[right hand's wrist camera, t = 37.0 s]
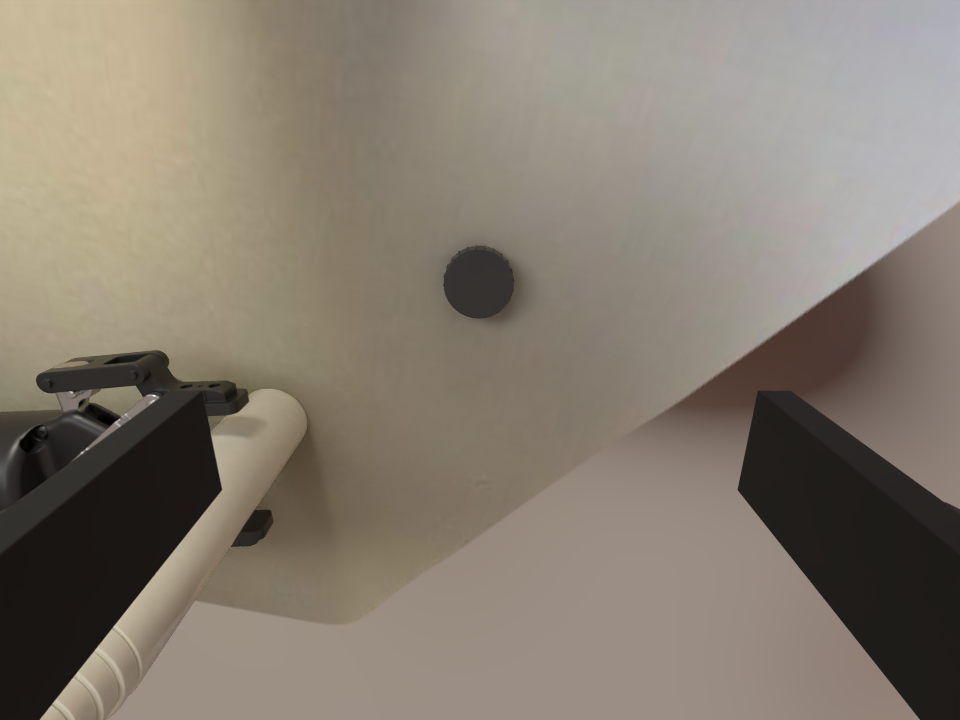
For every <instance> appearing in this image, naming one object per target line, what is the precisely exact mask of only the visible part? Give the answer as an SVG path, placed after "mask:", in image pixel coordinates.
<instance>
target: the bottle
mask: <svg viewBox="0 0 960 720" xmlns="http://www.w3.org/2000/svg"><path fill="white" fill-rule="evenodd" d="M248 397H249V402H248V403H247V404H246V405H245V406H244V407H243V408H242V409H241V410H240V411H239V412H238V413H236V414H232V415H226V416H225V417H224V418H223V419H222V420H221V421H220V422H219V423H218V424H217V425H216V426H215V427H214V428H213V429H212V430H211V431H210V432H211V437H212V442H213V447H214V452H215V456H216V461H217V466H218V471H219V476H220V481H221V486H222V491H221V492H220V493H219V495H218V496H217V497H216V498H215V500H214V501H213V502H212V504H211V505H210V506H209V507H208V509H207V510H206V511H205V512H204V514H203V515H202V516H201V517H200V519H199V520H198V521H197V522H196V524H195V525H194V526H193V527H192V529H191V530H190V531H189V533H188V534H187V535H186V536H185V538H184V539H183V540H182V541H181V543H180V544H179V545H178V546H177V548H176V549H175V550H174V551H173V553H172V554H171V555H170V556H169V558H168V559H167V560H166V561H165V563H164V564H163V565H162V567H161V568H160V569H159V570H158V572H157V573H156V574H155V575H154V577H153V578H152V579H151V580H150V582H149V583H148V584H147V585H146V587H145V588H144V589H143V590H142V592H141V593H140V594H139V595H138V597H137V598H136V599H135V601H134V602H133V603H132V604H131V606H130V607H129V608H128V609H127V611H126V612H125V613H124V614H123V616H122V617H121V618H120V619H119V621H118V622H117V623H116V624H115V626H114V627H113V628H112V629H111V631H110V632H109V633H108V635H107V636H106V637H105V638H104V640H103V641H102V642H101V643H100V645H99V646H98V647H97V648H96V650H95V651H94V652H93V653H92V655H91V656H90V657H89V658H88V660H87V661H86V662H85V664H84V665H83V666H82V667H81V669H80V670H79V671H78V672H77V674H76V675H75V676H74V677H73V679H72V680H71V681H70V682H69V684H68V685H67V686H66V687H65V689H64V690H63V691H62V692H61V694H60V695H59V696H58V698H57V699H56V700H55V701H54V703H53V704H52V705H51V706H50V708H49V709H48V710H47V711H46V713H45V714H44V715H43V716H42V718H41V719H40V720H106V719H108V718H109V717H111V716H112V715H114V714H115V713H116V712H117V711H118V710H119V708H120V707H121V706H122V704H123V703H124V701H125V700H126V698H127V697H128V696H129V695H130V694H131V693H132V692H133V691H134V690H135V689H136V688H137V686H138V685H139V683H140V682H141V680H142V679H143V677H144V676H145V674H146V673H147V671H148V670H149V668H150V667H151V665H152V664H153V662H154V661H155V659H156V658H157V656H158V655H159V653H160V652H161V650H162V649H163V647H164V646H165V644H166V643H167V641H168V640H169V638H170V637H171V635H172V634H173V632H174V631H175V629H176V628H177V626H178V625H179V623H180V622H181V620H182V619H183V617H184V616H185V614H186V613H187V611H188V610H189V608H190V607H191V605H192V604H193V602H194V601H195V599H196V598H197V596H198V595H199V593H200V592H201V590H202V589H203V587H204V586H205V584H206V583H207V581H208V580H209V578H210V577H211V575H212V574H213V572H214V571H215V569H216V568H217V566H218V565H219V563H220V562H221V560H222V559H223V557H224V556H225V554H226V553H227V551H228V550H229V548H230V547H231V545H232V544H233V542H234V541H235V539H236V538H237V536H238V535H239V533H240V532H241V530H242V529H243V527H244V526H245V524H246V523H247V521H248V520H249V518H250V517H251V515H252V514H253V512H254V511H255V509H256V508H257V506H258V505H259V503H260V502H261V500H262V499H263V497H264V496H265V494H266V493H267V491H268V490H269V488H270V487H271V485H272V484H273V482H274V481H275V479H276V478H277V476H278V475H279V473H280V472H281V470H282V469H283V467H284V466H285V464H286V463H287V461H288V460H289V458H290V457H291V455H292V454H293V452H294V451H295V449H296V448H297V446H298V445H299V443H300V442H301V440H302V439H303V437H304V435H305V433H306V430H307V417H306V414H305V411H304V409H303V407H302V406H301V404H300V403H299V402H298V401H297V400H296V399H295V398H294V397H292V396H291V395H289V394H288V393H285V392H283V391H280V390H277V389H260V390H256V391H254V392H252V393H250V394H249V395H248Z"/></svg>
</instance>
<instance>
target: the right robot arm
mask: <svg viewBox="0 0 960 720" xmlns="http://www.w3.org/2000/svg"><path fill="white" fill-rule="evenodd" d="M221 491H222V486H221V481H220V476H219V471H218V466H217V461H216V456H215V452H214V447H213V442H212V437H211V432H210V427H209V422H208V417H207V413H206V408H205V403H204V398H203V393H202V391H169V392H167V393H166V394H164V395H163V396H162V397H160V398H159V399H158V400H156V401H155V402H153V403H152V404H151V405H149V406H148V407H147V408H145V409H144V410H142V411H141V412H140V413H138V414H137V415H135V416H134V417H133V418H131V419H130V420H129V421H127V422H126V423H124V424H123V425H122V426H120V427H119V428H118V429H116V430H115V431H113V432H112V433H111V434H109V435H108V436H107V437H105V438H104V439H102V440H101V441H100V442H98V443H97V444H96V445H94V446H93V447H91V448H90V449H89V450H87V451H86V452H85V453H83V454H82V455H80V456H79V457H78V458H76V459H75V460H74V461H72V462H71V463H69V464H68V465H67V466H65V467H64V468H63V469H61V470H60V471H58V472H57V473H56V474H54V475H53V476H51V477H50V478H49V479H47V480H46V481H45V482H43V483H42V484H40V485H39V486H38V487H36V488H35V489H34V490H32V491H31V492H29V493H28V494H27V495H25V496H24V497H23V498H21V499H20V500H18V501H17V502H16V503H14V504H13V505H12V506H10V507H8V508H6V509H4V510H2V511H0V720H40V719H41V718H42V716H43V715H44V714H45V713H46V711H47V710H48V709H49V708H50V706H51V705H52V704H53V703H54V701H55V700H56V699H57V698H58V696H59V695H60V694H61V692H62V691H63V690H64V689H65V687H66V686H67V685H68V684H69V682H70V681H71V680H72V679H73V677H74V676H75V675H76V674H77V672H78V671H79V670H80V669H81V667H82V666H83V665H84V664H85V662H86V661H87V660H88V658H89V657H90V656H91V655H92V653H93V652H94V651H95V650H96V648H97V647H98V646H99V645H100V643H101V642H102V641H103V640H104V638H105V637H106V636H107V635H108V633H109V632H110V631H111V629H112V628H113V627H114V626H115V624H116V623H117V622H118V621H119V619H120V618H121V617H122V616H123V614H124V613H125V612H126V611H127V609H128V608H129V607H130V606H131V604H132V603H133V602H134V601H135V599H136V598H137V597H138V595H139V594H140V593H141V592H142V590H143V589H144V588H145V587H146V585H147V584H148V583H149V582H150V580H151V579H152V578H153V577H154V575H155V574H156V573H157V572H158V570H159V569H160V568H161V567H162V565H163V564H164V563H165V561H166V560H167V559H168V558H169V556H170V555H171V554H172V553H173V551H174V550H175V549H176V548H177V546H178V545H179V544H180V543H181V541H182V540H183V539H184V538H185V536H186V535H187V534H188V533H189V531H190V530H191V529H192V527H193V526H194V525H195V524H196V522H197V521H198V520H199V519H200V517H201V516H202V515H203V514H204V512H205V511H206V510H207V509H208V507H209V506H210V505H211V504H212V502H213V501H214V500H215V498H216V497H217V496H218V495H219V493H220V492H221ZM738 491H739V492H740V493H741V495H742V496H743V497H744V498H745V500H746V501H747V502H748V504H749V505H750V506H751V507H752V509H753V510H754V511H755V512H756V514H757V515H758V516H759V517H760V519H761V520H762V521H763V522H764V524H765V525H766V526H767V527H768V529H769V530H770V531H771V532H772V534H773V535H774V536H775V538H776V539H777V540H778V541H779V543H780V544H781V545H782V546H783V548H784V549H785V550H786V551H787V553H788V554H789V555H790V556H791V558H792V559H793V560H794V561H795V563H796V564H797V565H798V567H799V568H800V569H801V570H802V572H803V573H804V574H805V575H806V577H807V578H808V579H809V580H810V582H811V583H812V584H813V585H814V587H815V588H816V589H817V590H818V592H819V593H820V594H821V595H822V597H823V598H824V599H825V601H826V602H827V603H828V604H829V606H830V607H831V608H832V609H833V611H834V612H835V613H836V614H837V616H838V617H839V618H840V619H841V621H842V622H843V623H844V624H845V626H846V627H847V628H848V629H849V631H850V632H851V633H852V635H853V636H854V637H855V638H856V640H857V641H858V642H859V643H860V645H861V646H862V647H863V648H864V650H865V651H866V652H867V653H868V655H869V656H870V657H871V658H872V660H873V661H874V662H875V664H876V665H877V666H878V667H879V669H880V670H881V671H882V672H883V674H884V675H885V676H886V677H887V679H888V680H889V681H890V682H891V684H892V685H893V686H894V687H895V689H896V690H897V691H898V692H899V694H900V695H901V696H902V698H903V699H904V700H905V701H906V703H907V704H908V705H909V706H910V707H911V709H912V710H913V711H914V713H915V714H916V715H917V716H918V718H919V719H920V720H960V509H958V508H956V507H954V506H952V505H950V504H948V503H946V502H943V501H941V500H940V499H939V498H937V497H936V496H935V495H933V494H932V493H931V492H929V491H928V490H926V489H925V488H924V487H922V486H921V485H920V484H918V483H917V482H915V481H914V480H913V479H911V478H910V477H909V476H907V475H906V474H904V473H903V472H902V471H900V470H899V469H897V468H896V467H895V466H893V465H892V464H891V463H889V462H888V461H886V460H885V459H884V458H882V457H881V456H880V455H878V454H877V453H875V452H874V451H873V450H871V449H870V448H869V447H867V446H866V445H864V444H863V443H862V442H860V441H859V440H858V439H856V438H855V437H853V436H852V435H851V434H849V433H848V432H847V431H845V430H844V429H842V428H841V427H840V426H838V425H837V424H835V423H834V422H833V421H831V420H830V419H829V418H827V417H826V416H825V415H823V414H822V413H820V412H819V411H817V410H816V409H815V408H813V407H812V406H811V405H809V404H808V403H807V402H805V401H804V400H802V399H801V398H800V397H798V396H797V395H795V394H794V393H793V392H791V391H758V393H757V398H756V403H755V408H754V413H753V418H752V422H751V427H750V432H749V437H748V442H747V447H746V452H745V456H744V461H743V466H742V471H741V476H740V481H739V486H738Z"/></svg>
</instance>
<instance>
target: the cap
mask: <svg viewBox="0 0 960 720" xmlns="http://www.w3.org/2000/svg"><path fill="white" fill-rule="evenodd" d="M512 273H513V272H512V269H511V268H510V267H509V263H508V261H506V260H505V258H504V257H503V256H502V254H500V253H498V252H497V251H495V249H491V248H488V247H486V246H485V247H484V246H477V245H476V246H474V247H469V248H468V247H467V248H466V249H464V250H462V251H459V253H458V254H456V255H455V256H454V257H452V260H451V262H450V263H449V264H448V265H447V271H446V273H445V274H444V277H445V278H444V285H443V286H444V290H445V295H446V297H447V299H448V301H449V302H450V304H451V305H452V306H453V308H455V309H456V310H457V311H458V312H459V313H461V314H463V315H465V316H468V317H471V318H486V317H490V316H492V315H494V314H496V313H498V312H499V311H501V310H502V309H503V308H504V307H505V306H506V304H507V303H508V301H509V300H510V298H511V295H512V292H513V282H514V279H513V276H512Z"/></svg>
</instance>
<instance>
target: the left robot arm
mask: <svg viewBox="0 0 960 720" xmlns="http://www.w3.org/2000/svg"><path fill="white" fill-rule="evenodd" d="M168 365H169V359H168V357H167V355H166V354H165V353H163V352H161V351H157V350H155V351H145V352H134V353H124V354H113V355H103V356H92V357H82V358H74V359H71V360H69V361H67V362H65V363H62V364H60V365H58V366H56V367H53V368H51V369H49V370H47V371H45V372H43V373H41V374H39V375H38V376H37V378H36V383H37V385H38V387H39V388H40V389H41V390H42V391H44V392H46V393H56V395H57V398H58V400H59V403H60V405H61V408H62V410H46V411H18V412H0V511H2V510H4V509H6V508H8V507H10V506H12V505H13V504H14V503H16V502H17V501H18V500H20V499H21V498H23V497H24V496H25V495H27V494H28V493H29V492H31V491H32V490H34V489H35V488H36V487H38V486H39V485H40V484H42V483H43V482H45V481H46V480H47V479H49V478H50V477H51V476H53V475H54V474H56V473H57V472H58V471H60V470H61V469H63V468H64V467H65V466H67V465H68V464H69V463H71V462H72V461H74V460H75V459H76V458H78V457H79V456H80V455H82V454H83V453H85V452H86V451H87V450H89V449H90V448H91V447H93V446H94V445H96V444H97V443H98V442H100V441H101V440H102V439H104V438H105V437H107V436H108V435H109V434H111V433H112V432H113V431H115V430H116V429H118V428H119V427H120V426H122V425H123V424H124V423H126V422H127V421H129V420H130V419H131V418H133V417H134V416H135V415H137V414H138V413H140V412H141V411H142V410H144V409H145V408H147V407H148V406H149V405H151V404H152V403H153V402H155V401H156V400H158V399H159V398H160V397H162V396H163V395H164V394H166V393H167V392H169V391H202V393H203V398H204V403H205V408H206V413H207V416H219V415H232V414H236V413H238V412H239V411H240V410H241V409H242V408H243V407H244V406H245V405H246V404H247V403H248V402H249V397H248V392H247V389H236V384H235V383H232V382H229V381H202V382H182V381H180V380H178V379H176V378H175V377H174V376H173V375H172V374H171V372H170V371H169V369H168V368H167V367H168ZM134 385H136V387H137V388H138V389H139V391H140V392H141V394H142V395H143V398H142V399H141V400H140V401H139V402H138V403H137V404H136V405H135V406H134V407H132V408H131V409H130V410H129V411H128V412H127V413H126V414H125V415H123V416H122V417H121V416H119V415H117V414H115V413H113V412H112V411H110V410H108V409H106V408H104V407H102V406H100V405H98V404H95V403H89V397H91V396H92V395H94V394H96V393H98V392H99V391H100V390H101V389H102V388H113V387H124V386H134ZM272 524H273V518H272V513H271V511H270V510H255V511H254V512H253V514H252V515H251V517H250V518H249V520H248V521H247V523H246V524H245V526H244V527H243V529H242V530H241V532H240V533H239V535H238V536H237V538H236V539H235V541H234V542H233V544H232V545H231V547H233V546H234V547H238V546H251V545H254V544H256V543H257V542H258V540H260V539H262V538H263V537H265V535H266V534H267V532H268V530H269V529H270V527H271V525H272Z"/></svg>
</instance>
